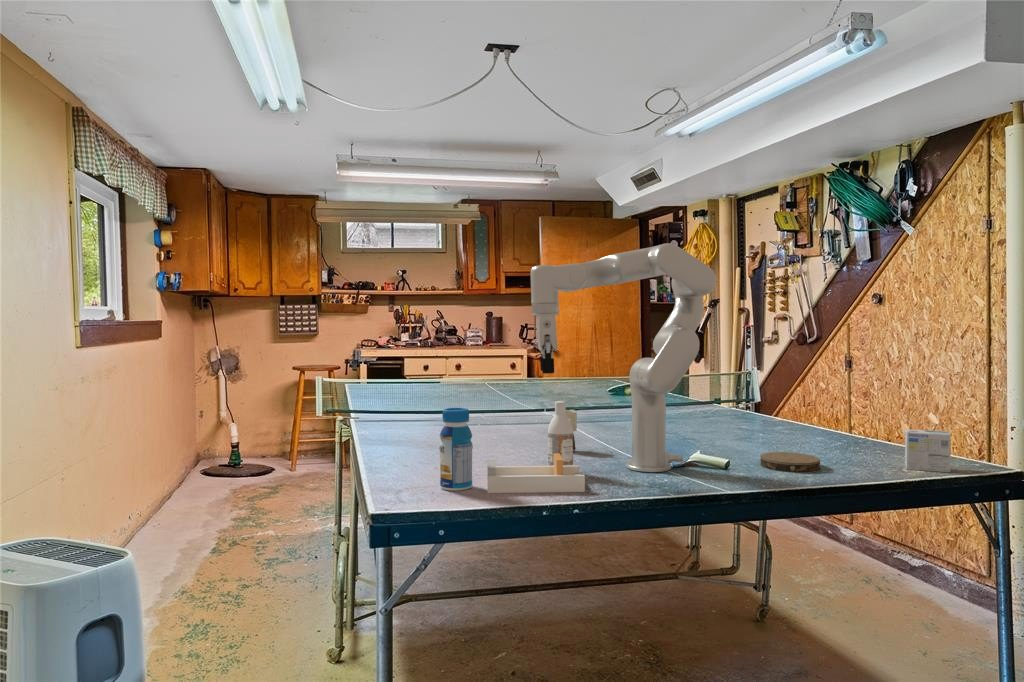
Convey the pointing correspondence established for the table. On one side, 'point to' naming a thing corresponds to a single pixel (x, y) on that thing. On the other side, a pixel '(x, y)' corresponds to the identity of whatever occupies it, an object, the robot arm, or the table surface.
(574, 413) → the character mug
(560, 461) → the orange rectangular block
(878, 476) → the table surface
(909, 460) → the light bulb box
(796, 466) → the brown round disc
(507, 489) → the pusher lane
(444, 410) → the beverage bottle
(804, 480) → the table surface
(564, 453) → the bath foam
